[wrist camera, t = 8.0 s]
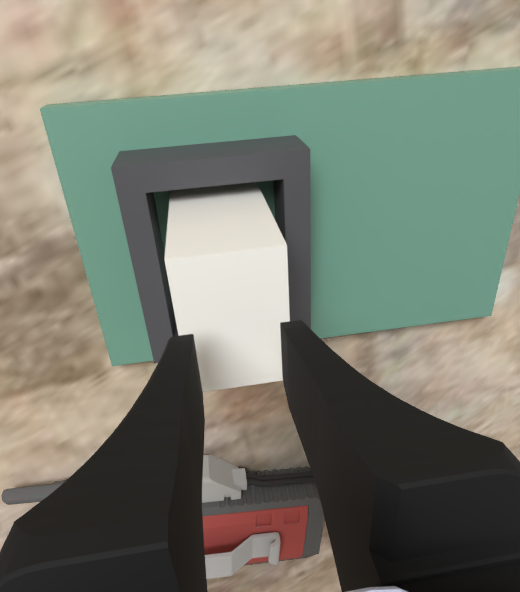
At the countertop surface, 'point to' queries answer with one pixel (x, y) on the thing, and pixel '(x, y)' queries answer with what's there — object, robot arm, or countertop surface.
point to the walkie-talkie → (243, 514)
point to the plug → (228, 282)
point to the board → (303, 195)
